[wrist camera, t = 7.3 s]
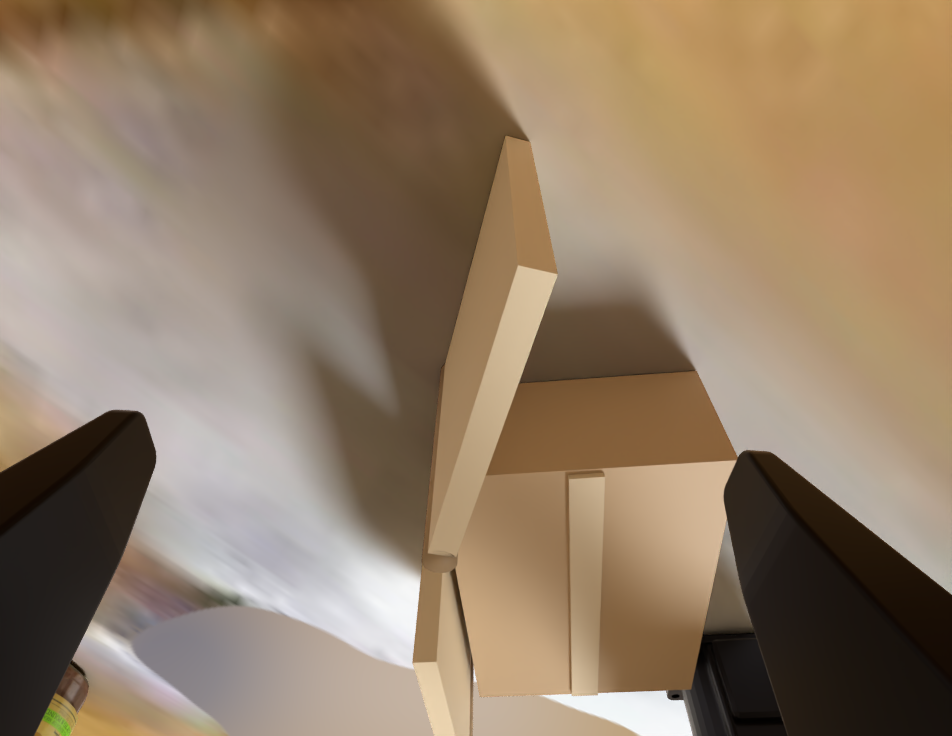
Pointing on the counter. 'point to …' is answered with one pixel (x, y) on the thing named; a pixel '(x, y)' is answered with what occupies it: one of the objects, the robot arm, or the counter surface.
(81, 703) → the sauce bottle
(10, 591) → the robot arm
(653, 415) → the carton
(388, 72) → the counter surface
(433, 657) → the side flap
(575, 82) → the counter surface
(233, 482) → the counter surface
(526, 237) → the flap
